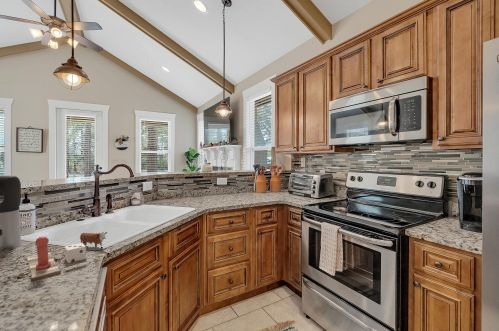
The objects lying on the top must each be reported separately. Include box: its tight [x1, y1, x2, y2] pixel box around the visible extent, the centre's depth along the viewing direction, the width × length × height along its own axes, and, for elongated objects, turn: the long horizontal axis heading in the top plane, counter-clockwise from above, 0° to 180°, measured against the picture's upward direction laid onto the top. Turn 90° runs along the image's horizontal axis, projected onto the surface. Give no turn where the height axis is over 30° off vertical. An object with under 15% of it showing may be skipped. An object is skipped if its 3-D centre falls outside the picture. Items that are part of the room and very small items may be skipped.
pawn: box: [34, 235, 51, 271], centre depth 93 cm, size 4×4×12 cm
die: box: [64, 242, 87, 264], centre depth 101 cm, size 6×6×6 cm
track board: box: [26, 251, 62, 282], centre depth 97 cm, size 25×8×1 cm, turn 45°
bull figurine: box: [79, 231, 108, 248], centre depth 114 cm, size 4×13×8 cm, turn 78°
